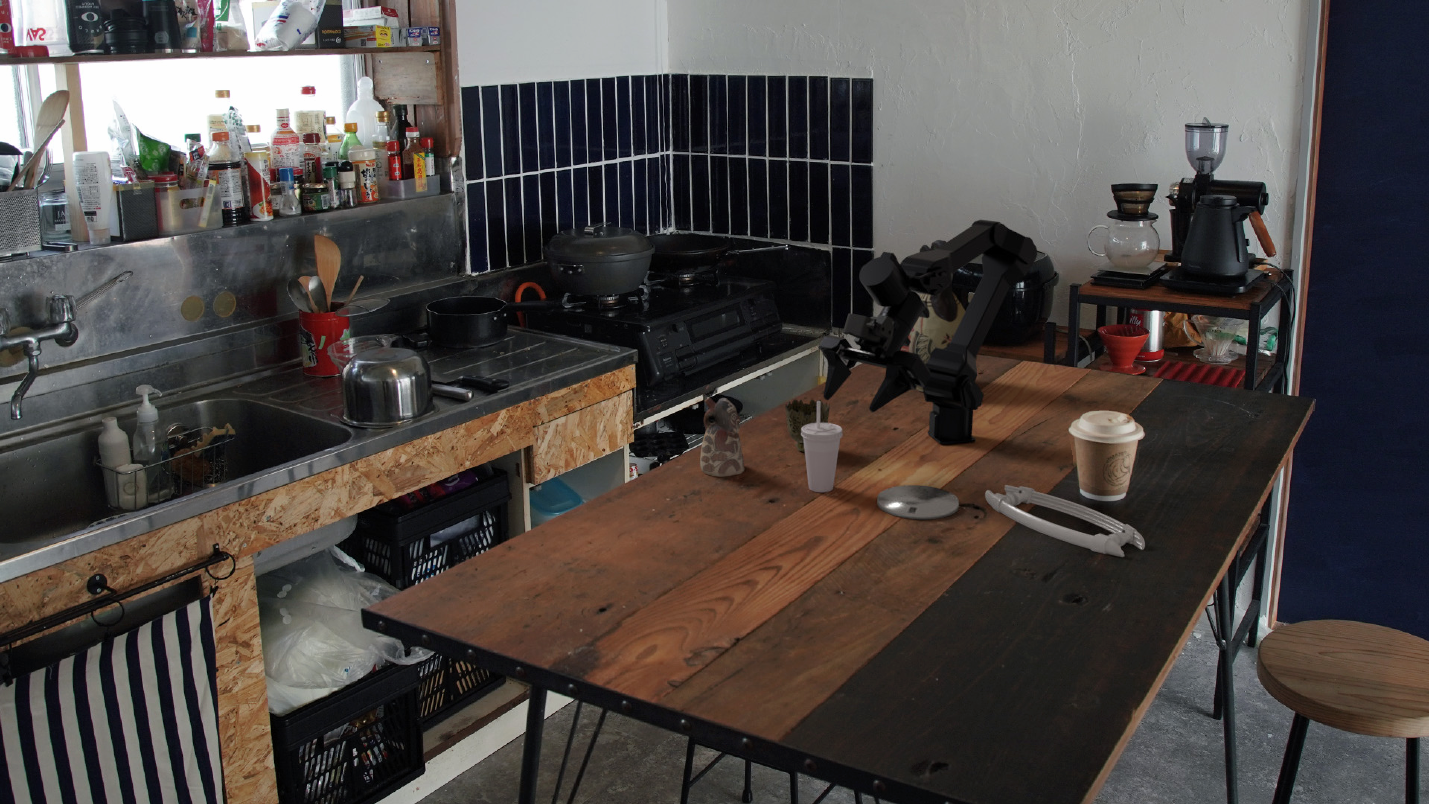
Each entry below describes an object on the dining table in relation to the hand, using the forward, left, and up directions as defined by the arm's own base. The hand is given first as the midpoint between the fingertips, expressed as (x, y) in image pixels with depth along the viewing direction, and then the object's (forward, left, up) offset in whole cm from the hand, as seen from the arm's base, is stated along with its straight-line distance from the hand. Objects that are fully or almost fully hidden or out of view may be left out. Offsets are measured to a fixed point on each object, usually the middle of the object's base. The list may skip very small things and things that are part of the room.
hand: (847, 404), depth 192 cm
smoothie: (+5, +3, -12) cm, 14 cm away
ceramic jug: (-33, -44, -12) cm, 56 cm away
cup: (+2, -15, -12) cm, 19 cm away
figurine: (+18, -9, -12) cm, 24 cm away
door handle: (-24, +25, -13) cm, 37 cm away
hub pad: (-7, +13, -12) cm, 19 cm away
